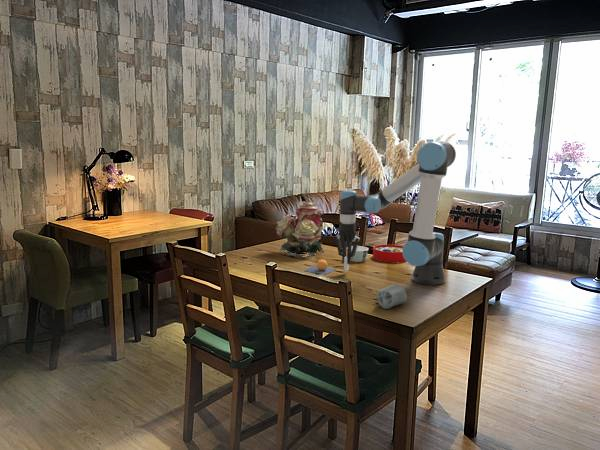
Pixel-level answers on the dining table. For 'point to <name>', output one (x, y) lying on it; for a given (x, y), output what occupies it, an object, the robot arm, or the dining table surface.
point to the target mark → (316, 270)
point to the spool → (391, 296)
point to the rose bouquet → (302, 230)
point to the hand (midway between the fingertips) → (346, 270)
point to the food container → (360, 254)
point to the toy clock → (388, 253)
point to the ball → (322, 265)
